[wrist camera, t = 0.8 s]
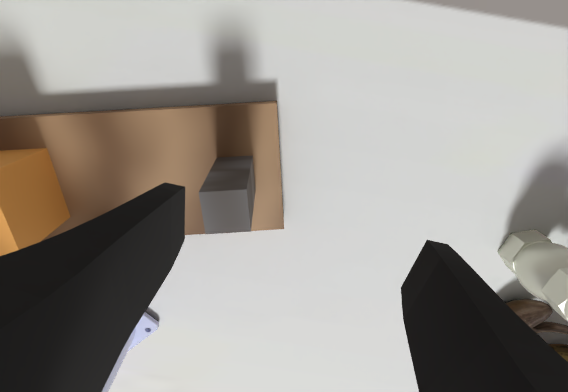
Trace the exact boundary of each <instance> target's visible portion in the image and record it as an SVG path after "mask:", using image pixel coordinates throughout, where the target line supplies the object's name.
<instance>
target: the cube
mask: <svg viewBox="0 0 568 392" xmlns="http://www.w3.org/2000/svg"><path fill="white" fill-rule="evenodd" d="M69 218H70V214H69V211H68V208H67V205H66V202H65V199H64V196H63V193H62V191H61V188H60V185H59V182H58V179H57V176H56V173H55V170H54V167H53V164H52V161H51V158H50V155H49V153H48V150H47V148H39V149H21V150H4V151H0V256H2V255H6V254H8V253H11V252H14V251H17V250H20V249H22V248H25V247H28V246H30V245H33V244H36V243H38V242H41V241H42V240H43V239H44V238H45V237H47V236H48V235H49V234H50V233H52V232H53V231H54V230H55V229H56V228H58V227H59V226H60V225H61V224H63V223H64V222H65V221H66V220H67V219H69Z"/></svg>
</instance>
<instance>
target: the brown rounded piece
mask: <svg viewBox="0 0 568 392" xmlns="http://www.w3.org/2000/svg"><path fill="white" fill-rule="evenodd" d="M506 304H507V305H508V306H509V307H510V308H511V309H512V310H513V311H514V312H515V313H516V314H517V315H518V316H519V317H520V318H521V319H522V320H523V321H524V322H525V323H526V324H527V325H528V326H529V327H530V328H531V329H532V330H533V331H534V332H536V333H540V332H558V333H564V334H568V326H566V325H562V324H558V323H553V322H543V321H544V320H546V319H547V318H548V317H549V316H550V315H551V314H552V308H551V307H550V306H549V305H548V304H546V303H544V302H542V301H537V300H531V299H522V300H513V301H510V302H508V303H506ZM549 346H551V347H552V348H553V349H554V350H555V351H556V352H557V353H558V354H559V355H561V356H562V357H563V358H564V359H565V360H566V361H568V345H564V344H549Z"/></svg>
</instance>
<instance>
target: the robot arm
mask: <svg viewBox="0 0 568 392" xmlns="http://www.w3.org/2000/svg"><path fill="white" fill-rule="evenodd" d="M184 239H185V187H184V186H180V185H175V184H171V183H166V182H165V183H163V184H160V185H158V186H156V187H154V188H152V189H151V190H149V191H147V192H145V193H143V194H141V195H139V196H137V197H135V198H134V199H132V200H130V201H128V202H126V203H124V204H122V205H120V206H118V207H116V208H114V209H112V210H110V211H108V212H106V213H104V214H102V215H100V216H98V217H96V218H94V219H92V220H89V221H87V222H85V223H83V224H81V225H79V226H76V227H74V228H72V229H70V230H68V231H66V232H63V233H61V234H58V235H56V236H54V237H51V238H49V239H46V240H44V241H41V242H38V243H36V244H33V245H30V246H28V247H25V248H22V249H20V250H17V251H14V252H11V253H8V254H6V255H2V256H0V392H108V391H109V389H110V387H111V385H112V383H113V381H114V379H115V377H116V374H117V372H118V370H119V368H120V366H121V364H122V362H123V360H124V358H125V356H126V354H127V352H128V351H129V350H130V349H132V348H133V347H134V346H136V345H137V344H138V343H140V342H141V341H142V340H144V339H145V338H146V337H148V336H149V335H150V334H152V333H153V332H154V331H156V330H157V329H158V327H159V322H158V321H156V320H155V319H154V318H152V317H151V316H150V315H148V314H147V313H146V312H145V311H146V309H147V308H148V306H149V304H150V303H151V301H152V300H153V298H154V296H155V295H156V293H157V291H158V290H159V288H160V287H161V285H162V283H163V282H164V280H165V278H166V277H167V275H168V273H169V272H170V270H171V268H172V266H173V264H174V262H175V260H176V258H177V256H178V253H179V251H180V249H181V246H182V244H183V242H184ZM401 294H402V309H403V319H404V324H405V329H406V334H407V339H408V344H409V348H410V353H411V357H412V362H413V366H414V371H415V375H416V380H417V384H418V389H419V392H568V361H566V360H565V359H564V358H563V357H562V356H561V355H559V354H558V353H557V352H556V351H555V350H554V349H553V348H552V347H551V346H549V345H548V344H547V343H546V342H545V341H544V340H543V339H542V338H541V337H540V336H539V335H538V334H537V333H536V332H534V331H533V330H532V329H531V328H530V327H529V326H528V325H527V324H526V323H525V322H524V321H523V320H522V319H521V318H520V317H519V316H518V315H517V314H516V313H515V312H514V311H513V310H512V309H511V308H510V307H509V306H508V305H507V304H506V303H505V302H504V301H503V300H502V299H501V298H500V297H499V296H498V295H497V294H496V293H495V292H494V291H493V290H492V289H491V288H490V287H489V286H488V285H487V284H486V283H485V281H484V280H483V279H482V278H481V277H480V276H479V275H478V274H477V273H476V272H475V271H474V270H473V269H472V268H471V267H470V266H469V265H468V264H467V263H466V262H465V261H464V260H463V259H462V257H461V256H460V255H459V254H458V253H456V252H455V251H454V250H453V249H452V248H451V247H450V246H449V245H448V244H443V243H439V242H434V241H430V240H427V241H426V243H425V245H424V247H423V248H422V250H421V252H420V254H419V256H418V257H417V259H416V261H415V263H414V265H413V267H412V268H411V270H410V272H409V274H408V276H407V278H406V279H405V281H404V283H403V285H402V287H401ZM148 328H150V329H148Z"/></svg>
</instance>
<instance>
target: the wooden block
mask: <svg viewBox="0 0 568 392" xmlns="http://www.w3.org/2000/svg"><path fill="white" fill-rule="evenodd" d="M39 148H47V150H48V153H49V155H50V158H51V161H52V164H53V167H54V170H55V173H56V176H57V179H58V182H59V185H60V188H61V191H62V193H63V196H64V199H65V202H66V205H67V208H68V211H69V214H70V218H69V219H67V220H66V221H65V222H64V223H63V224H61V225H60V226H59V227H58V228H56V229H55V230H54V231H53V232H52V233H50V234H49V235H48V236H47V237H45V238H44V239H43V240H42V241H44V240H46V239H49V238H51V237H54V236H56V235H58V234H61V233H63V232H66V231H68V230H70V229H72V228H74V227H76V226H79V225H81V224H83V223H85V222H87V221H89V220H92V219H94V218H96V217H98V216H100V215H102V214H104V213H106V212H108V211H110V210H112V209H114V208H116V207H118V206H120V205H122V204H124V203H126V202H128V201H130V200H132V199H134V198H135V197H137V196H139V195H141V194H143V193H145V192H147V191H149V190H151V189H152V188H154V187H156V186H158V185H160V184H163V183H165V182H166V183H171V184H175V185H180V186H184V187H185V235H192V234H215V233H232V232H248V231H257V230H273V229H284V220H283V203H282V185H281V168H280V151H279V133H278V116H277V101H267V102H249V103H232V104H214V105H197V106H179V107H161V108H144V109H126V110H109V111H91V112H73V113H56V114H38V115H21V116H3V117H0V151H4V150H21V149H39Z"/></svg>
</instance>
